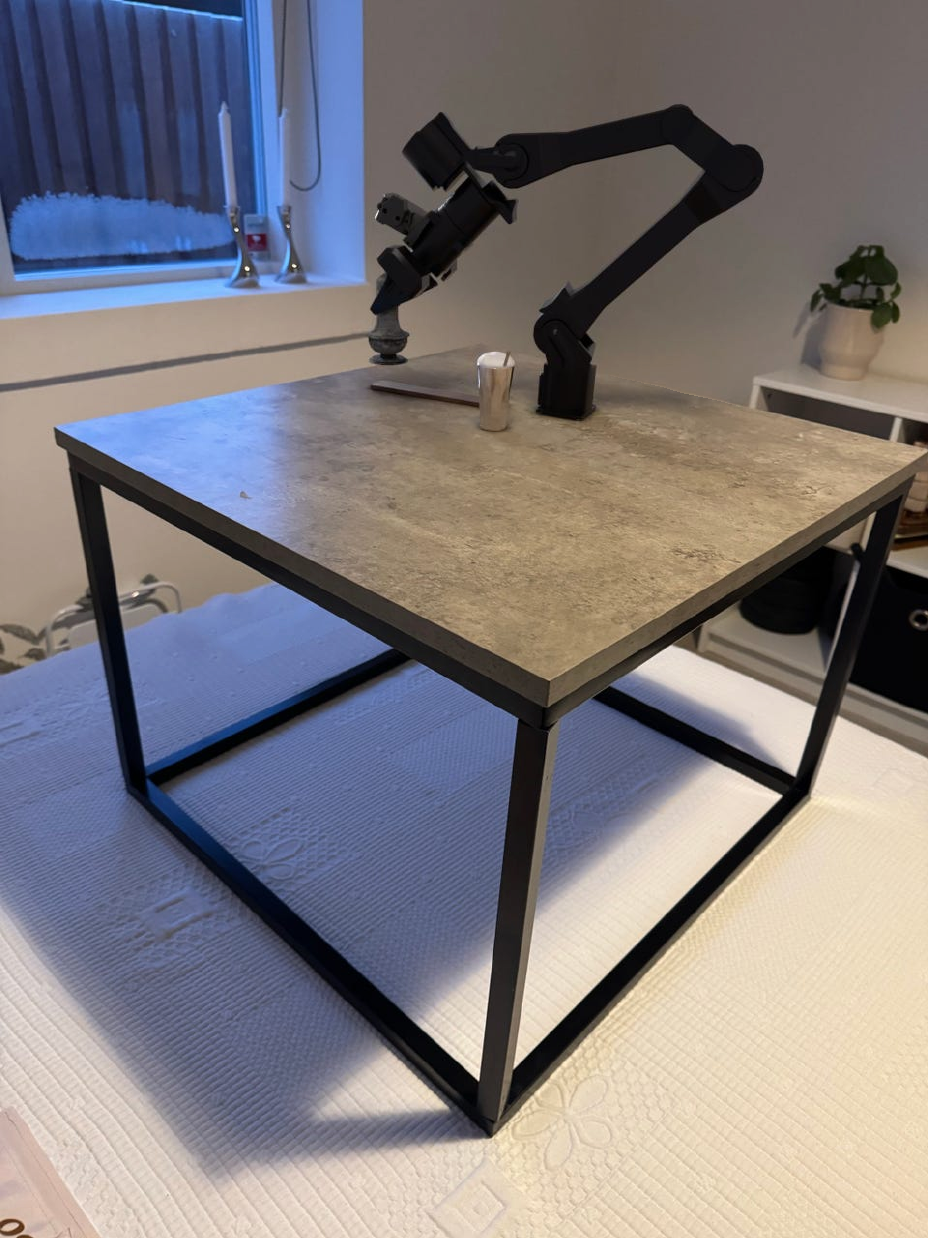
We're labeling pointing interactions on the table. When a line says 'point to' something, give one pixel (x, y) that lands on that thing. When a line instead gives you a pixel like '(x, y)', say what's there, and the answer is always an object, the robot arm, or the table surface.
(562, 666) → the table surface
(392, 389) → the strip
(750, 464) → the table surface
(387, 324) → the salt shaker
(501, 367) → the milkshake
